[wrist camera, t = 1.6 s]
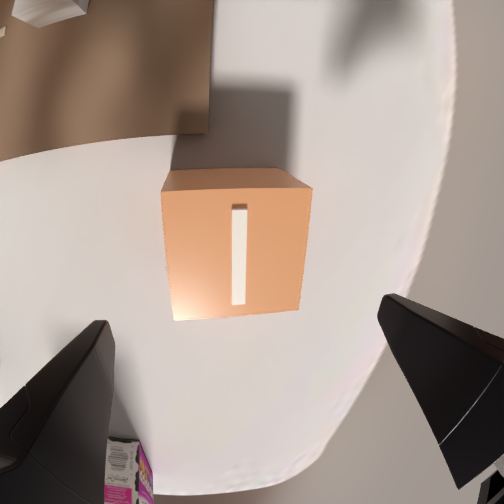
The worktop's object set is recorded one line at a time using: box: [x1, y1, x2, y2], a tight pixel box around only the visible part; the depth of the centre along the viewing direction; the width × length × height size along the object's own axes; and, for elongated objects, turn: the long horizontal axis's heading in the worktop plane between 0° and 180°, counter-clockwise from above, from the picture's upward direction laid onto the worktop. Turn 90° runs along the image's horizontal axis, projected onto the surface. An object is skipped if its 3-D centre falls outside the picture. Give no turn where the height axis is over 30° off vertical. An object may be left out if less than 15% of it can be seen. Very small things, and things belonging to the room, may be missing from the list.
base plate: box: [0, 0, 214, 162], centre depth 8 cm, size 16×16×4 cm
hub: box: [161, 168, 313, 321], centre depth 15 cm, size 6×6×5 cm
